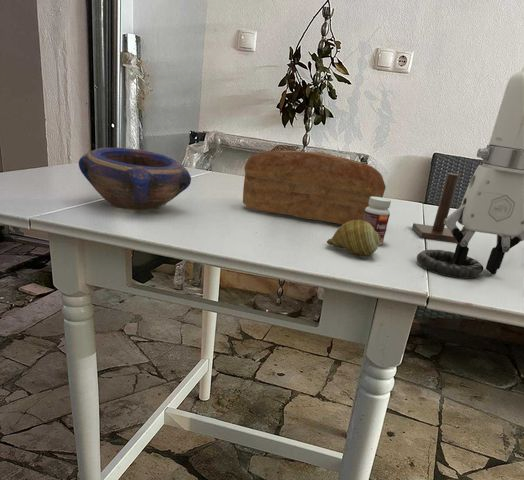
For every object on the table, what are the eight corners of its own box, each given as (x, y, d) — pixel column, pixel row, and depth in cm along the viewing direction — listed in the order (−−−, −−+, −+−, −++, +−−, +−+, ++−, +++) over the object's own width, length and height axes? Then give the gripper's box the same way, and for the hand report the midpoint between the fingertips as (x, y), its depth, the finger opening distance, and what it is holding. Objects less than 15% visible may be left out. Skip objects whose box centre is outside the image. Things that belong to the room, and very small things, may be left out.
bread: (247, 201, 121) (254, 141, 115) (376, 223, 117) (390, 161, 111) (234, 209, 110) (241, 143, 104) (376, 234, 106) (391, 167, 100)
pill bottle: (376, 246, 96) (386, 202, 93) (354, 240, 99) (363, 196, 95) (386, 243, 100) (397, 200, 96) (365, 237, 102) (374, 195, 99)
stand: (450, 233, 117) (467, 174, 111) (462, 243, 109) (481, 180, 103) (412, 228, 117) (427, 168, 111) (421, 237, 109) (438, 174, 103)
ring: (468, 263, 94) (472, 253, 93) (489, 283, 84) (493, 271, 83) (410, 255, 94) (413, 245, 93) (424, 274, 84) (427, 262, 83)
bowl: (129, 222, 89) (130, 163, 85) (68, 200, 98) (66, 145, 94) (199, 213, 103) (203, 161, 98) (140, 195, 112) (141, 146, 107)
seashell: (327, 269, 93) (320, 241, 86) (333, 239, 96) (327, 210, 89) (381, 271, 90) (378, 242, 83) (385, 240, 93) (383, 209, 86)
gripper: (463, 155, 77) (431, 269, 85) (574, 171, 77) (530, 283, 85) (450, 151, 84) (420, 257, 92) (551, 165, 84) (513, 270, 92)
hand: (474, 268), depth 89 cm, fingers open, 5 cm apart
